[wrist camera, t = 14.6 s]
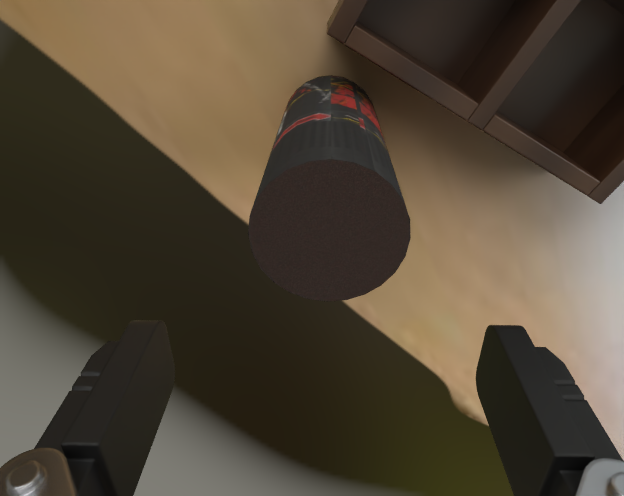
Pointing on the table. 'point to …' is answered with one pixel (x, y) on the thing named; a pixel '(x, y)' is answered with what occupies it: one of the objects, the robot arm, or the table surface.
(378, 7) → the rack
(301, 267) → the deodorant
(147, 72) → the table surface
